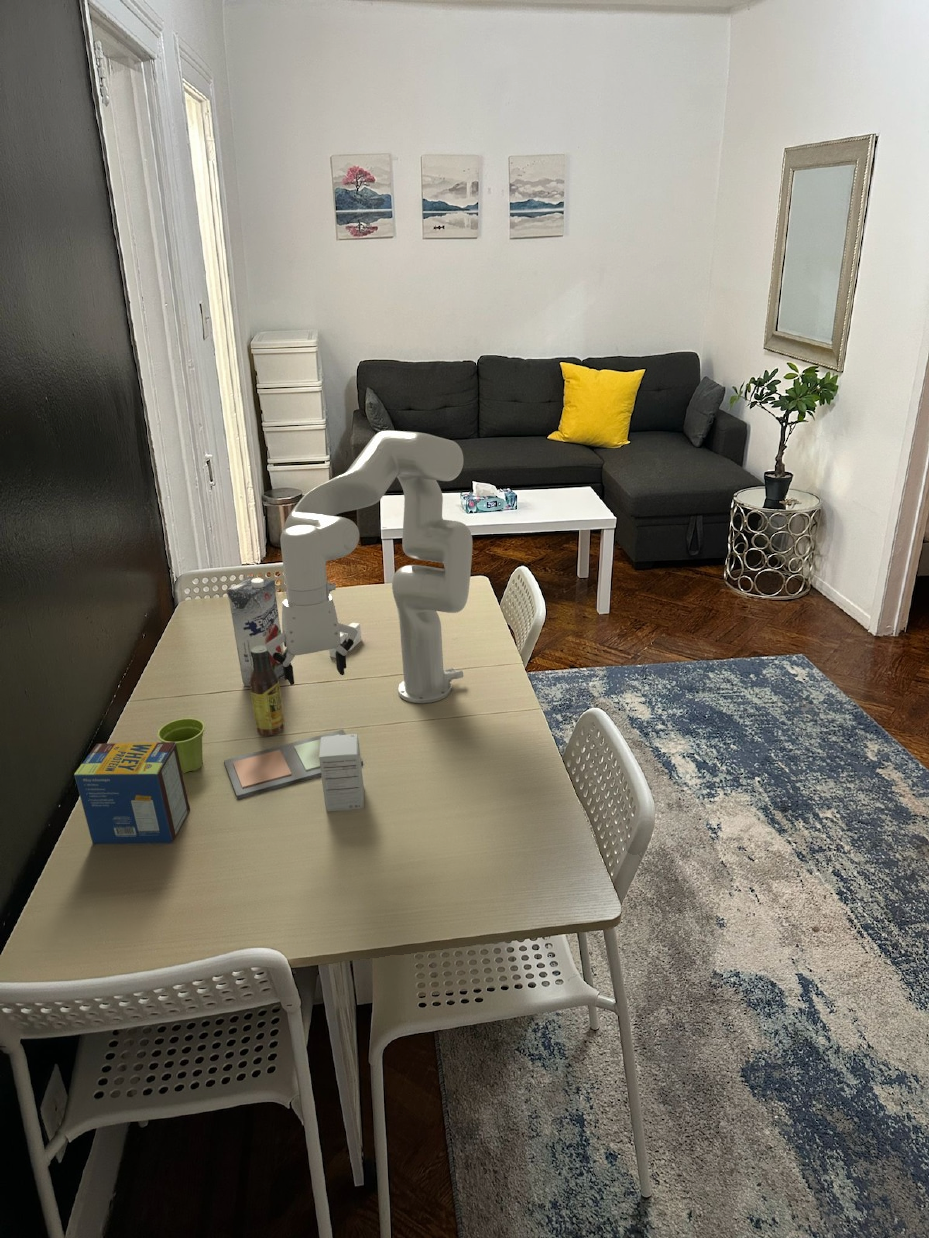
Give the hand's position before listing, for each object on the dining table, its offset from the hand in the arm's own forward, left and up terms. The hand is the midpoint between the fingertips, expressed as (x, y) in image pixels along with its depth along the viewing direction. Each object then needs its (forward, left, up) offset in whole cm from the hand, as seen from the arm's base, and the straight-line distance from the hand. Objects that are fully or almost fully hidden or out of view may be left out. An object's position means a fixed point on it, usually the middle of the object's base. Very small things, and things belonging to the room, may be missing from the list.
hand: (316, 677), depth 168 cm
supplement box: (-1, +7, -24) cm, 25 cm away
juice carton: (+2, -50, -24) cm, 55 cm away
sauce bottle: (+6, -26, -24) cm, 36 cm away
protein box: (+36, -2, -24) cm, 43 cm away
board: (+5, -10, -24) cm, 26 cm away
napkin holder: (-21, -57, -25) cm, 66 cm away
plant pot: (+25, -20, -24) cm, 40 cm away
